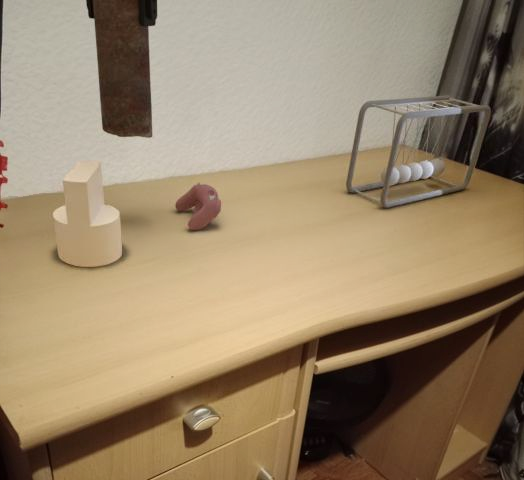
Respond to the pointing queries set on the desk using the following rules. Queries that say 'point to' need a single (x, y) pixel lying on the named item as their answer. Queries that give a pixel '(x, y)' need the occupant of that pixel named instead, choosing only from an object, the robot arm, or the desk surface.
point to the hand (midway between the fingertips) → (122, 20)
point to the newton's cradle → (424, 167)
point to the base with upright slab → (87, 220)
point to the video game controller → (200, 205)
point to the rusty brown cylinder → (123, 68)
